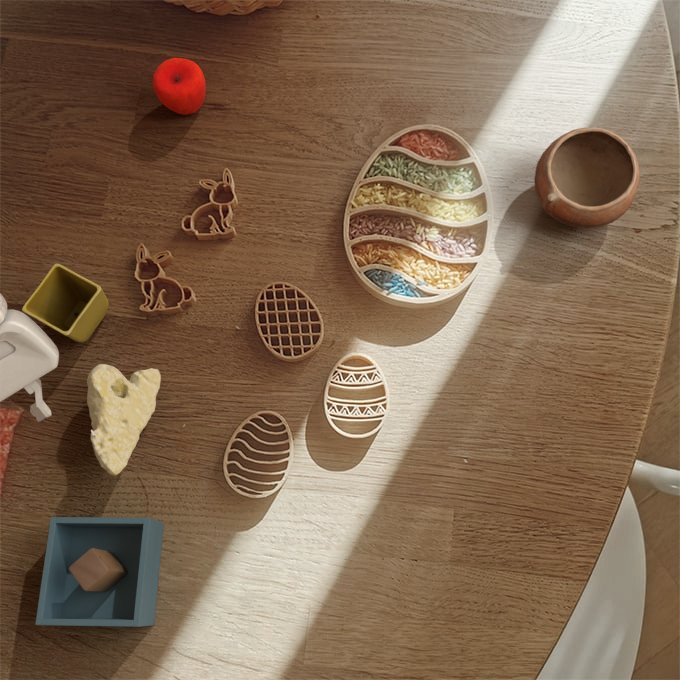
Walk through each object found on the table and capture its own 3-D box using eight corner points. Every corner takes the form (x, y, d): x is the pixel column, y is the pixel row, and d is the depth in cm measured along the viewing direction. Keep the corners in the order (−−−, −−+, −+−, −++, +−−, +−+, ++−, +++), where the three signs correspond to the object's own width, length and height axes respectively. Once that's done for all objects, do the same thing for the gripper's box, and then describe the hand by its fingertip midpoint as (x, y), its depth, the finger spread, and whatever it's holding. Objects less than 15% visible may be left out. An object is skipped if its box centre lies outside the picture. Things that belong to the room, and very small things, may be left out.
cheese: (124, 360, 115) (39, 395, 104) (146, 342, 110) (59, 377, 99) (171, 445, 115) (91, 489, 104) (195, 431, 110) (114, 476, 99)
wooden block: (112, 550, 103) (91, 546, 95) (129, 572, 101) (109, 570, 94) (89, 570, 102) (66, 568, 94) (106, 593, 101) (84, 592, 93)
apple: (152, 103, 130) (138, 72, 122) (192, 75, 131) (180, 43, 124) (182, 134, 127) (169, 105, 120) (222, 105, 129) (212, 75, 121)
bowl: (520, 227, 117) (532, 194, 108) (538, 147, 122) (551, 108, 113) (620, 248, 115) (640, 217, 106) (633, 165, 120) (655, 128, 111)
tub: (56, 623, 100) (34, 625, 94) (70, 522, 105) (50, 517, 99) (154, 625, 100) (138, 626, 93) (163, 523, 104) (149, 517, 98)
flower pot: (90, 356, 114) (66, 336, 105) (46, 331, 116) (19, 309, 107) (122, 310, 116) (102, 287, 108) (79, 286, 118) (55, 261, 110)
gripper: (-183, 411, 70) (-84, 509, 76) (9, 298, 73) (89, 401, 79) (-166, 387, 76) (-75, 480, 82) (11, 283, 79) (86, 380, 85)
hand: (7, 440), depth 81 cm, fingers open, 8 cm apart
